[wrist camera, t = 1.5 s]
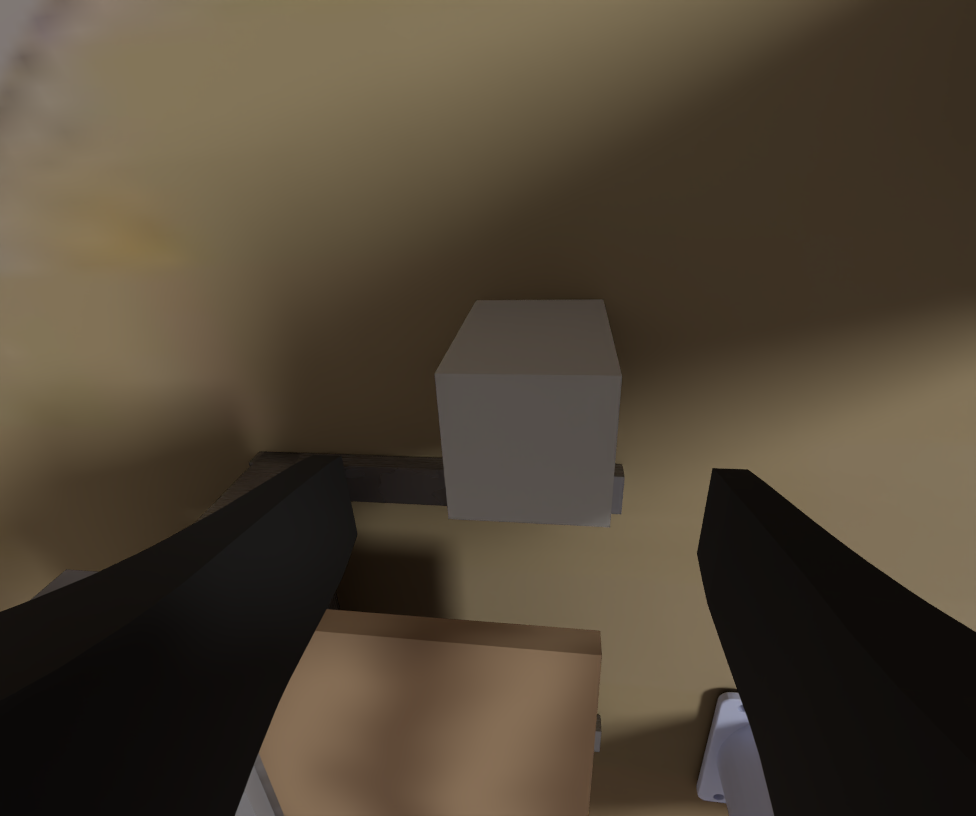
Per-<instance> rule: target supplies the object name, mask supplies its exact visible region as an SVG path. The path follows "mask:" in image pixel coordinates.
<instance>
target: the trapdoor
mask: <svg viewBox="0 0 976 816" xmlns="http://www.w3.org/2000/svg"><path fill="white" fill-rule="evenodd" d="M95 573H97V572H94V571H80V570H67V569H66V570H65V571H64V572H63V573H61V574H60V575H59V576H58V577H57V578H56V579H54V580H53V581H52V582H51V583H50V584H49V585H47V586H46V587H45V588H44V589H43V590H42V591H40V592H39V593H38V594H37V595H36V596H35V597H33V598H32V599H35V598H37V597H40V596H42V595H44V594H47V593H49V592H52V591H54V590H57V589H59V588H62V587H64V586H66V585H69V584H71V583H74V582H76V581H79V580H81V579H83V578H86V577H88V576H91V575H93V574H95ZM32 599H31V600H32ZM601 659H602V651H601V637H600V631H596V630H583V629H570V628H558V627H545V626H532V625H520V624H507V623H495V622H482V621H469V620H457V619H444V618H431V617H419V616H406V615H393V614H381V613H368V612H355V611H343V610H330V609H326V611H325V613H324V615H323V617H322V619H321V621H320V623H319V625H318V626H317V628H316V630H315V632H314V634H313V636H312V638H311V640H310V642H309V644H308V646H307V648H306V650H305V651H304V653H303V655H302V657H301V659H300V661H299V663H298V665H297V667H296V669H295V671H294V673H293V675H292V677H291V678H290V680H289V683H288V685H287V687H286V689H285V691H284V693H283V695H282V697H281V700H280V702H279V704H278V706H277V708H276V711H275V713H274V716H273V718H272V721H271V723H270V726H269V728H268V731H267V733H266V736H265V738H264V741H263V743H262V746H261V748H260V751H259V753H258V756H257V758H256V761H255V763H254V766H253V769H252V771H251V774H250V777H249V779H248V782H247V785H246V787H245V790H244V793H243V795H242V798H241V801H240V803H239V806H238V809H237V811H236V814H235V816H589V804H590V792H591V780H592V768H593V756H594V744H595V732H596V720H597V708H598V696H599V684H600V672H601Z"/></svg>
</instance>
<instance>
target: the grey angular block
mask: <svg viewBox="0 0 976 816" xmlns="http://www.w3.org/2000/svg"><path fill="white" fill-rule="evenodd" d="M313 454H314V453H286V452H259V453H258V454H257V455H256V456H255V457H254V458H253V459H252V460H251V461H250V462H249V465H250V467H249V468H248V469H247V470H246V471H245V472H244V473H243V474H242V475H241V476H240V477H239V478H238V479H237V480H236V481H235V482H234V483H233V484H232V485H231V486H230V487H229V488H228V489H227V490H226V492H225V493H224V494H223V495H222V496H221V497H220V498H219V499H218V500H217V501H216V502H215V503H214V504H213V505H212V506H211V507H210V508H209V509H208V510H207V511H206V512H205V513H204V514H203V515H202V516H201V517H200V518H199V519H198V520H197V521H196V522H198V521H199V520H201V519H203V518H205V517H207V516H208V515H210V514H212V513H214V512H216V511H217V510H219V509H221V508H223V507H224V506H226V505H228V504H229V503H231V502H233V501H234V500H236V499H238V498H239V497H241V496H243V495H244V494H246V493H248V492H249V491H251V490H252V489H254V488H256V487H257V486H259V485H261V484H262V483H264V482H266V481H267V480H269V479H271V478H272V477H274V476H276V475H277V474H279V473H281V472H282V471H284V470H286V469H287V468H289V467H291V466H292V465H294V464H296V463H298V462H300V461H301V460H303V459H305V458H307V457H309V456H311V455H313ZM314 455H342V454H314ZM342 460H343V465H344V470H345V475H346V480H347V485H348V490H349V495H350V500H351V501H359V502H379V503H400V504H421V505H441V506H447V497H446V487H445V476H444V466H443V458H427V457H398V456H370V455H342ZM623 488H624V471H623V466H622V464H615V470H614V483H613V495H612V508H611V514H621V510H622V499H623ZM196 522H195V523H196ZM327 609H330V610H340V608H339V604H338V600H337V595H336V591H335V593H334V595H333V597H332V599H331V601H330V603H329V605H328V607H327ZM600 741H601V718H600V715H597V720H596V732H595V744H594V751H595V752H600Z"/></svg>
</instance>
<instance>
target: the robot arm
mask: <svg viewBox="0 0 976 816" xmlns="http://www.w3.org/2000/svg"><path fill="white" fill-rule="evenodd" d="M356 537H357V530H356V525H355V520H354V515H353V510H352V505H351V500H350V495H349V490H348V485H347V480H346V475H345V470H344V465H343V460H342V455H314V454H313V455H311V456H309V457H307V458H305V459H303V460H301V461H300V462H298V463H296V464H294V465H292V466H291V467H289V468H287V469H286V470H284V471H282V472H281V473H279V474H277V475H276V476H274V477H272V478H271V479H269V480H267V481H266V482H264V483H262V484H261V485H259V486H257V487H256V488H254V489H252V490H251V491H249V492H248V493H246V494H244V495H243V496H241V497H239V498H238V499H236V500H234V501H233V502H231V503H229V504H228V505H226V506H224V507H223V508H221V509H219V510H217V511H216V512H214V513H212V514H210V515H208V516H207V517H205V518H203V519H201V520H199V521H198V522H196V523H194V524H192V525H191V526H189V527H187V528H185V529H183V530H182V531H180V532H178V533H176V534H174V535H173V536H171V537H169V538H167V539H165V540H163V541H161V542H160V543H158V544H156V545H154V546H152V547H150V548H148V549H146V550H144V551H142V552H140V553H138V554H136V555H134V556H131V557H129V558H127V559H125V560H123V561H121V562H119V563H117V564H115V565H112V566H110V567H108V568H106V569H104V570H102V571H99V572H97V573H95V574H93V575H91V576H88V577H86V578H83V579H81V580H79V581H76V582H74V583H71V584H69V585H66V586H64V587H62V588H59V589H57V590H54V591H52V592H49V593H47V594H44V595H42V596H40V597H37V598H35V599H32V600H30V601H27V602H25V603H23V604H20V605H18V606H15V607H12V608H10V609H7V610H4V611H2V612H0V816H235V814H236V811H237V809H238V806H239V803H240V801H241V798H242V795H243V793H244V790H245V787H246V785H247V782H248V779H249V777H250V774H251V771H252V769H253V766H254V763H255V761H256V758H257V756H258V753H259V751H260V748H261V746H262V743H263V741H264V738H265V736H266V733H267V731H268V728H269V726H270V723H271V721H272V718H273V716H274V713H275V711H276V708H277V706H278V704H279V702H280V700H281V697H282V695H283V693H284V691H285V689H286V687H287V685H288V683H289V680H290V678H291V677H292V675H293V673H294V671H295V669H296V667H297V665H298V663H299V661H300V659H301V657H302V655H303V653H304V651H305V650H306V648H307V646H308V644H309V642H310V640H311V638H312V636H313V634H314V632H315V630H316V628H317V626H318V625H319V623H320V621H321V619H322V617H323V615H324V613H325V611H326V609H327V607H328V605H329V603H330V601H331V599H332V597H333V595H334V593H335V591H336V589H337V587H338V585H339V583H340V581H341V579H342V577H343V574H344V571H345V569H346V566H347V563H348V561H349V558H350V555H351V552H352V549H353V546H354V543H355V540H356ZM697 556H698V561H699V566H700V571H701V576H702V581H703V586H704V590H705V595H706V599H707V604H708V607H709V610H710V613H711V616H712V619H713V621H714V624H715V627H716V630H717V633H718V636H719V639H720V642H721V645H722V648H723V650H724V653H725V656H726V659H727V662H728V665H729V667H730V670H731V673H732V676H733V679H734V682H735V684H736V687H737V690H738V693H735V692H726V693H723V694H721V695H720V696H719V698H718V701H717V705H716V709H715V713H714V717H713V721H712V725H711V729H710V733H709V737H708V741H707V745H706V749H705V754H704V758H703V762H702V766H701V770H700V774H699V778H698V782H697V786H696V789H697V794H698V796H699V798H701V799H703V800H706V801H713V802H721V803H726V804H727V808H728V813H729V816H976V632H975V631H973V630H971V629H970V628H968V627H967V626H965V625H963V624H962V623H960V622H958V621H957V620H955V619H953V618H952V617H950V616H949V615H947V614H945V613H944V612H942V611H940V610H939V609H937V608H936V607H934V606H932V605H931V604H929V603H928V602H926V601H925V600H923V599H922V598H920V597H918V596H917V595H915V594H914V593H912V592H911V591H909V590H908V589H906V588H905V587H903V586H902V585H901V584H899V583H898V582H896V581H895V580H893V579H892V578H890V577H889V576H888V575H886V574H885V573H883V572H882V571H880V570H879V569H878V568H876V567H875V566H873V565H872V564H870V563H869V562H867V561H866V560H865V559H863V558H862V557H861V556H859V555H858V554H856V553H855V552H854V551H852V550H851V549H850V548H848V547H847V546H846V545H844V544H843V543H842V542H840V541H839V540H838V539H836V538H835V537H834V536H832V535H831V534H830V533H828V532H827V531H826V530H825V529H823V528H822V527H821V526H819V525H818V524H817V523H815V522H814V521H813V520H812V519H810V518H809V517H808V516H807V515H805V514H804V513H803V512H802V511H800V510H799V509H798V508H797V507H795V506H794V505H793V504H792V503H790V502H789V501H788V500H787V499H785V498H784V497H783V496H782V495H780V494H779V493H778V492H777V491H775V490H774V489H773V488H771V487H770V486H769V485H768V484H766V483H765V482H764V481H763V480H761V479H760V478H759V477H757V476H756V475H755V474H753V473H752V472H750V471H749V470H745V469H717V468H713V469H712V474H711V480H710V485H709V491H708V496H707V502H706V507H705V513H704V518H703V524H702V529H701V535H700V540H699V545H698V551H697Z"/></svg>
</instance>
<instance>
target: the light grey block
mask: <svg viewBox="0 0 976 816" xmlns="http://www.w3.org/2000/svg"><path fill="white" fill-rule="evenodd" d="M435 383H436V394H437V404H438V414H439V425H440V435H441V445H442V456H443V466H444V476H445V487H446V497H447V507H448V517H449V519H461V520H480V521H499V522H519V523H538V524H557V525H577V526H596V527H610V520H611V508H612V495H613V483H614V470H615V458H616V445H617V433H618V420H619V408H620V395H621V383H622V373H621V369H620V365H619V361H618V357H617V353H616V349H615V345H614V341H613V337H612V333H611V329H610V324H609V320H608V316H607V312H606V308H605V304H604V300H603V299H587V300H476V301H475V303H474V305H473V307H472V308H471V310H470V312H469V314H468V315H467V317H466V319H465V321H464V322H463V324H462V326H461V328H460V329H459V331H458V333H457V335H456V337H455V338H454V340H453V342H452V344H451V345H450V347H449V349H448V351H447V352H446V354H445V356H444V358H443V359H442V361H441V363H440V365H439V366H438V368H437V370H436V372H435Z"/></svg>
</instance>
